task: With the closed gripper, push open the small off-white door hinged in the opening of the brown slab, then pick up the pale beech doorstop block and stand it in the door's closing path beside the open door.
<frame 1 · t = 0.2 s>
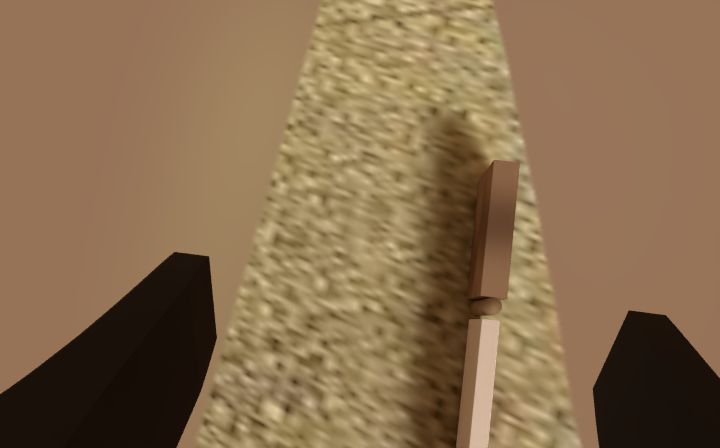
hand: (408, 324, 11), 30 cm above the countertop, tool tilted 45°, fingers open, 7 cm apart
brown slab: (484, 240, 42), on the countertop
door: (469, 412, 37), point 3 cm above the countertop, hinge at 0.0°
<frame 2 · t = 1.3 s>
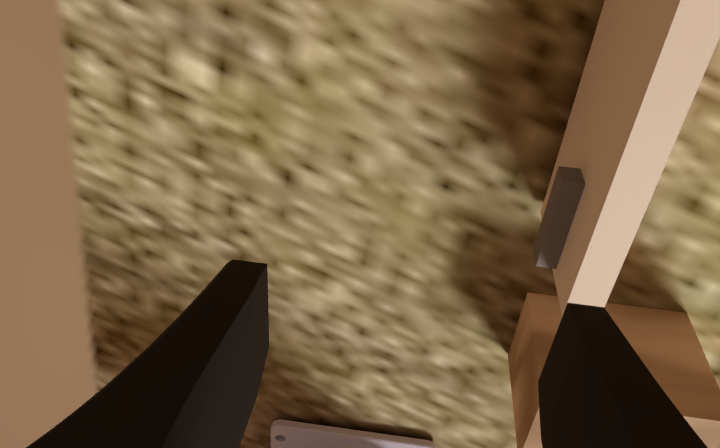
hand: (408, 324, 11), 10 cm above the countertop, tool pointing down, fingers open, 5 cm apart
doorstop block: (592, 333, 25), on the countertop
door: (612, 96, 16), point 3 cm above the countertop, hinge at 0.0°
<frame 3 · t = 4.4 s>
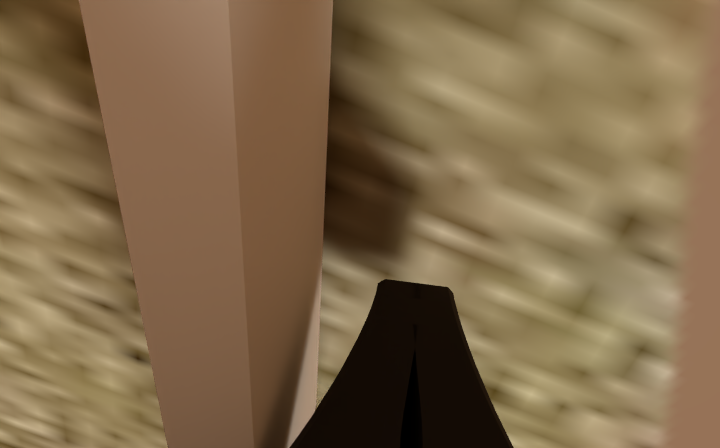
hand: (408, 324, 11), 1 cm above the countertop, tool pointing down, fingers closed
door: (243, 303, 9), point 3 cm above the countertop, hinge at 0.0°, touching gripper
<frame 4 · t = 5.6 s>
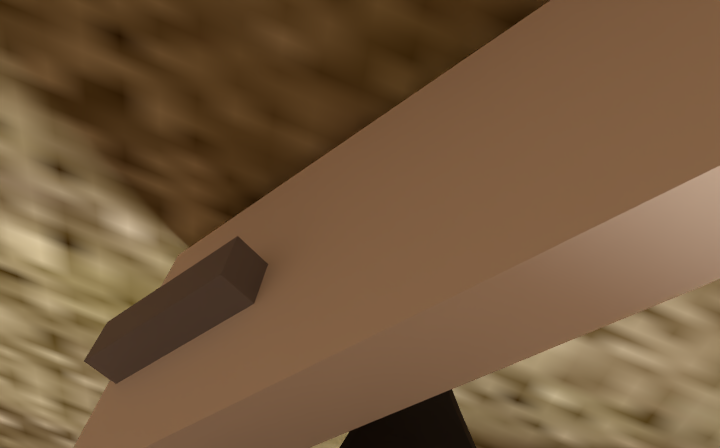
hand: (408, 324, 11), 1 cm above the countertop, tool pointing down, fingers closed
door: (402, 198, 8), point 3 cm above the countertop, hinge at 46.9°, touching gripper
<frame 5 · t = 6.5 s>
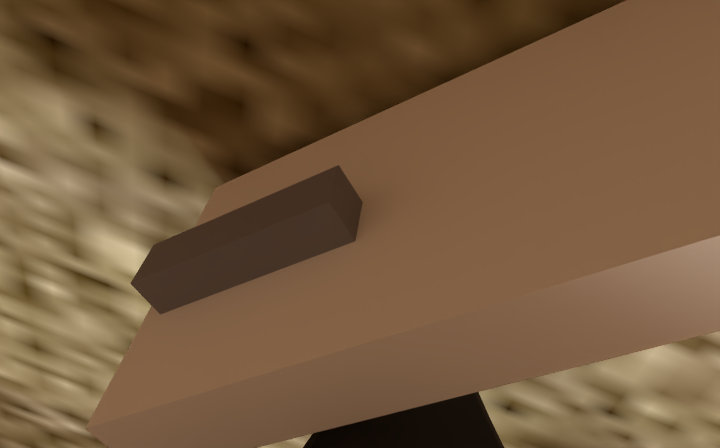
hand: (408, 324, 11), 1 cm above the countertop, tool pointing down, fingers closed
door: (538, 148, 7), point 3 cm above the countertop, hinge at 56.7°, touching gripper
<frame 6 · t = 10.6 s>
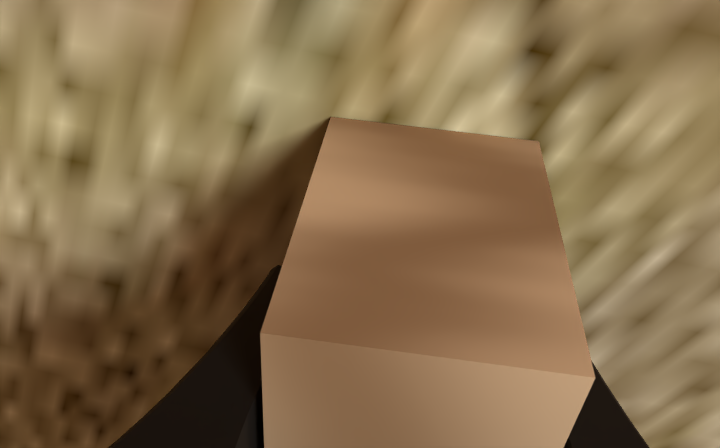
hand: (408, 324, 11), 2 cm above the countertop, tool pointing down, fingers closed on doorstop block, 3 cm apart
doorstop block: (412, 264, 12), on the countertop, touching gripper
when the fingers open (3 cm above the countertop, at t = 15.3 s): doorstop block drops 1 cm, on the countertop.
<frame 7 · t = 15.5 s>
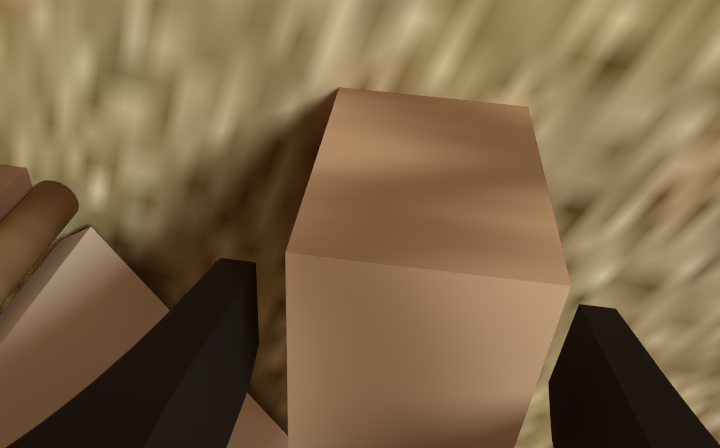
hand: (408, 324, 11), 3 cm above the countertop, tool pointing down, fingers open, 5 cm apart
doorstop block: (415, 224, 13), on the countertop
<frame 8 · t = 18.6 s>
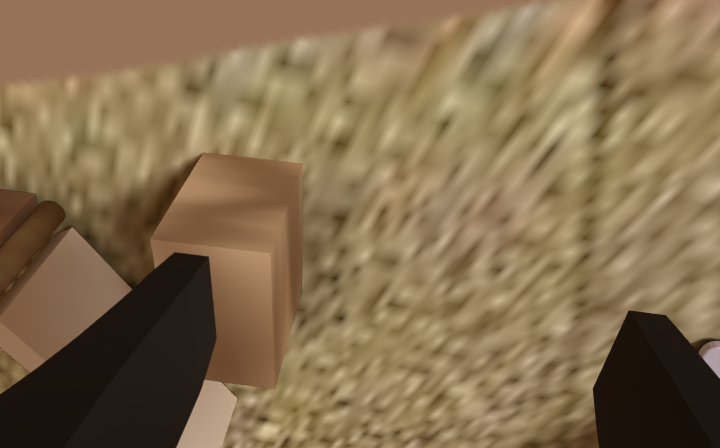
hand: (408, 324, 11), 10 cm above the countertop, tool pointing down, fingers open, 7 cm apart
doorstop block: (256, 225, 24), on the countertop
door: (125, 371, 25), point 3 cm above the countertop, hinge at 56.8°
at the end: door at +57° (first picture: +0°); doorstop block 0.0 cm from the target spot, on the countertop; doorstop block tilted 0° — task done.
